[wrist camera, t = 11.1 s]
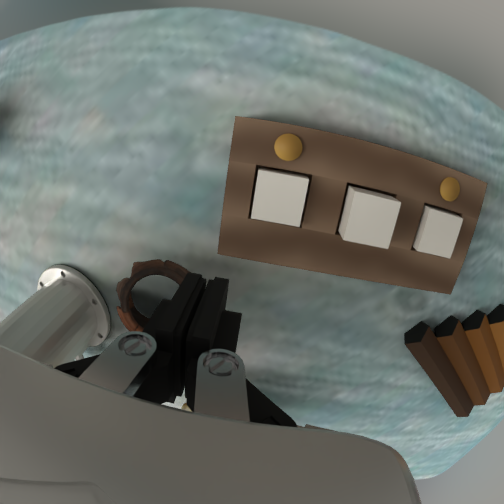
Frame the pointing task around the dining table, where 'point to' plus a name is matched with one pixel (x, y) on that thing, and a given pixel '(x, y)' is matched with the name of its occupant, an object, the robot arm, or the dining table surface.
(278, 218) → the button
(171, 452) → the robot arm
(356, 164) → the button board
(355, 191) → the button middle
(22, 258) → the dining table surface
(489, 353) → the pan flute
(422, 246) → the button
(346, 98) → the dining table surface
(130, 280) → the pottery mug
